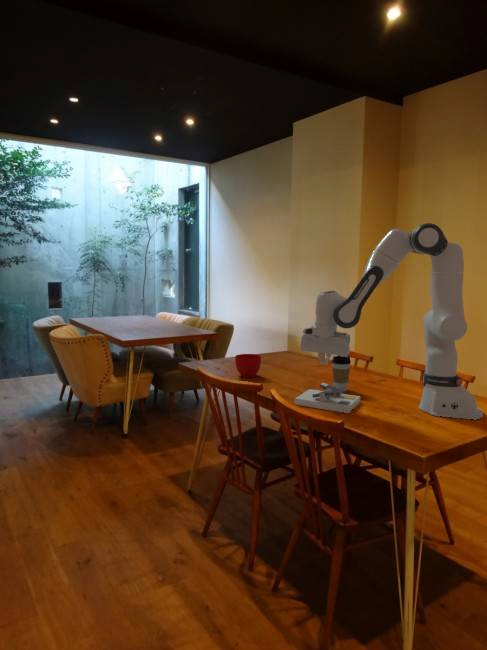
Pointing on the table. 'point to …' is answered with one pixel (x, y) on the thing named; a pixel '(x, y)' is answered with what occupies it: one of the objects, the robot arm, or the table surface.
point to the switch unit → (328, 401)
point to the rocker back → (326, 386)
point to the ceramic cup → (248, 364)
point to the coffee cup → (341, 371)
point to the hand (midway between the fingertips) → (323, 363)
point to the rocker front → (327, 393)
